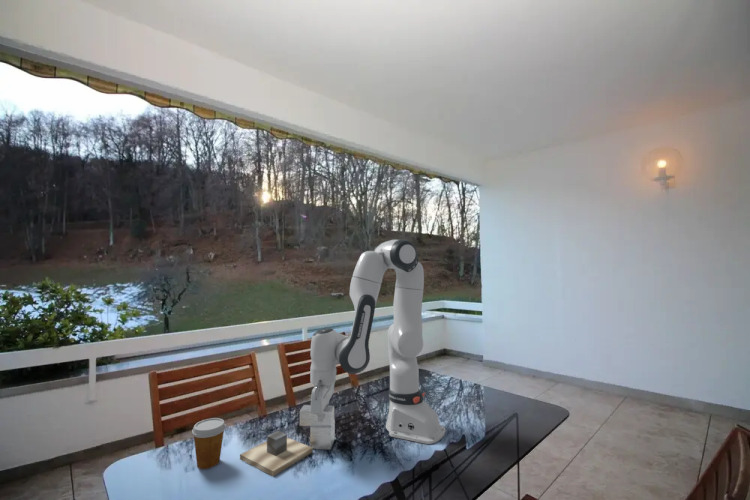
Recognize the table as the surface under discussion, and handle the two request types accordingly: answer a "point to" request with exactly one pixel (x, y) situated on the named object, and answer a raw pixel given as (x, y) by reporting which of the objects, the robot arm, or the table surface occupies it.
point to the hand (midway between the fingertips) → (322, 416)
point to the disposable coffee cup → (208, 442)
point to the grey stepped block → (319, 427)
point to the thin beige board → (276, 453)
